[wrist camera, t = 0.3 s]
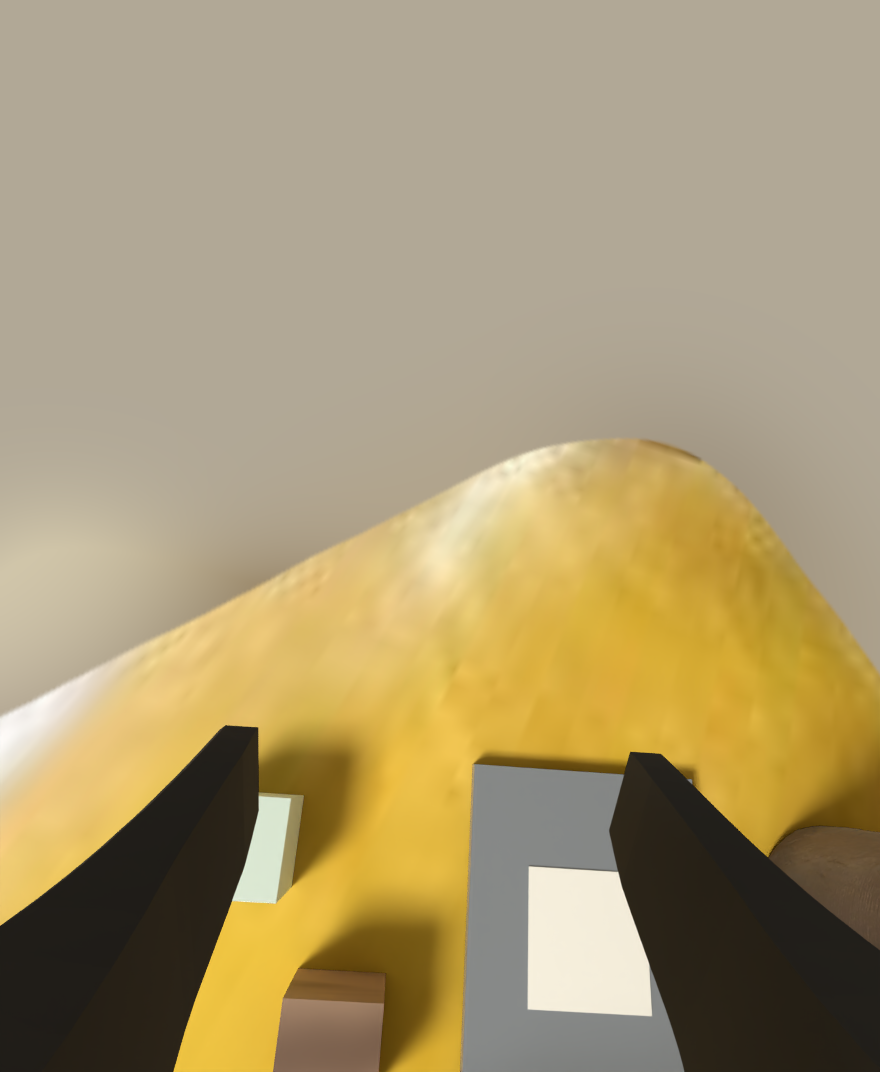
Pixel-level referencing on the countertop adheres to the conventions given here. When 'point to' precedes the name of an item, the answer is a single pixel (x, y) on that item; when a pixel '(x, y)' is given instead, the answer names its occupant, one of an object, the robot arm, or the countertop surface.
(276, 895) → the sage block
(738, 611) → the countertop surface
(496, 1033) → the base plate
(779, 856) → the pillar candle
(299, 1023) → the walnut block
